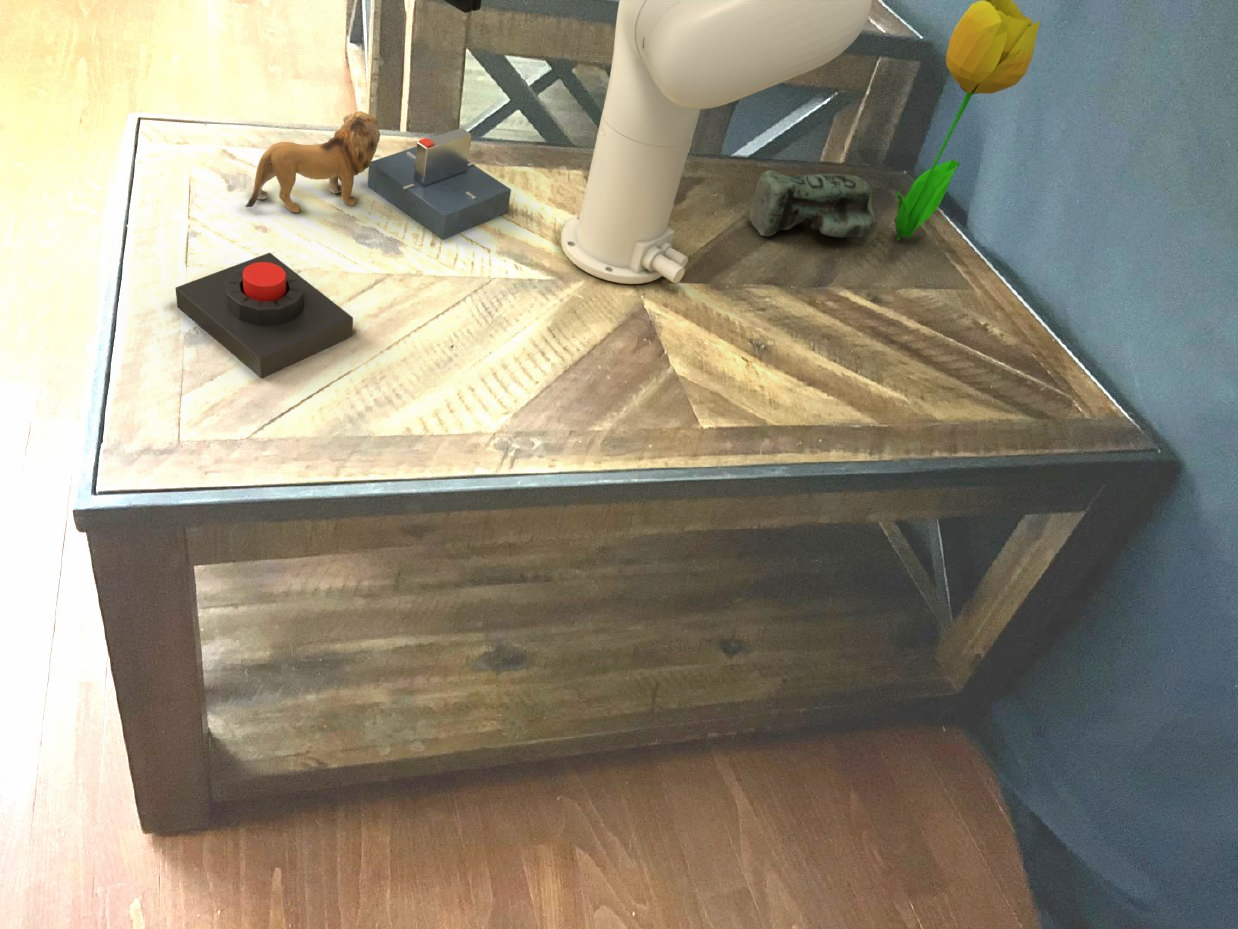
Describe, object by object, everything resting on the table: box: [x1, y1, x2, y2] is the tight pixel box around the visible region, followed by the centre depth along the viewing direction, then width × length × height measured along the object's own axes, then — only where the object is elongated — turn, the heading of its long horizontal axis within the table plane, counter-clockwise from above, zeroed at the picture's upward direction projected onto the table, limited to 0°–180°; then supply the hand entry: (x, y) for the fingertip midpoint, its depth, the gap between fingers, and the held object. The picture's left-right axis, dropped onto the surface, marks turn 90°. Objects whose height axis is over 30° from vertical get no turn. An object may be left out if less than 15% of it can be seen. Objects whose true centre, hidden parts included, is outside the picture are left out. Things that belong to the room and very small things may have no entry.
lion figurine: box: [245, 111, 381, 214], centre depth 105 cm, size 15×5×9 cm, turn 129°
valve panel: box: [367, 146, 512, 240], centre depth 113 cm, size 12×11×3 cm
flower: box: [894, 0, 1041, 241], centre depth 120 cm, size 9×8×30 cm
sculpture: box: [749, 169, 876, 238], centre depth 125 cm, size 12×8×15 cm
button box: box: [175, 252, 354, 379], centre depth 92 cm, size 12×10×4 cm
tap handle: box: [414, 127, 473, 186], centre depth 110 cm, size 6×2×5 cm, turn 140°
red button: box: [243, 262, 286, 301], centre depth 90 cm, size 4×4×2 cm
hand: (461, 4), depth 91 cm, fingers closed
